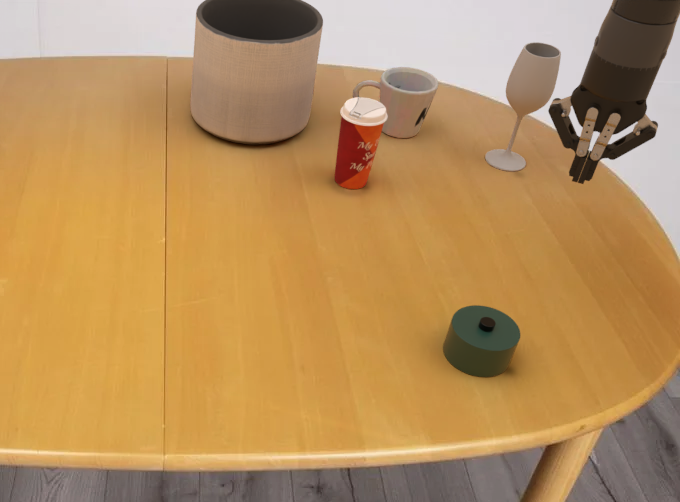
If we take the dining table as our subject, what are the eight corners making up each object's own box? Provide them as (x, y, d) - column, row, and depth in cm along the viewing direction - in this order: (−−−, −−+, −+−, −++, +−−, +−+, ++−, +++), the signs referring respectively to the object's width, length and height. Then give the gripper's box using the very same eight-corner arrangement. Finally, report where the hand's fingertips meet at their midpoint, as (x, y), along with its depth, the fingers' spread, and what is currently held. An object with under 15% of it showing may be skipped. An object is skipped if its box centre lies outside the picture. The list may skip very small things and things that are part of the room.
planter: (209, 82, 176) (215, -19, 162) (319, 102, 171) (335, 1, 158) (174, 135, 160) (177, 29, 147) (294, 159, 156) (309, 52, 142)
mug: (427, 145, 161) (440, 96, 154) (346, 135, 162) (355, 86, 156) (425, 118, 168) (438, 69, 162) (348, 109, 170) (357, 60, 163)
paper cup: (359, 198, 147) (375, 123, 138) (319, 181, 151) (332, 107, 141) (380, 178, 152) (397, 105, 143) (342, 163, 155) (356, 90, 146)
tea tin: (520, 352, 121) (533, 319, 117) (492, 387, 115) (505, 354, 111) (460, 323, 125) (471, 290, 121) (431, 355, 119) (441, 323, 115)
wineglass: (482, 167, 156) (517, 55, 142) (485, 146, 162) (519, 37, 147) (526, 175, 155) (566, 63, 140) (527, 154, 160) (566, 44, 146)
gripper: (694, 51, 100) (636, 180, 112) (575, 26, 104) (531, 152, 116) (687, 77, 95) (628, 209, 107) (563, 50, 100) (519, 179, 111)
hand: (578, 179), depth 112 cm, fingers closed
